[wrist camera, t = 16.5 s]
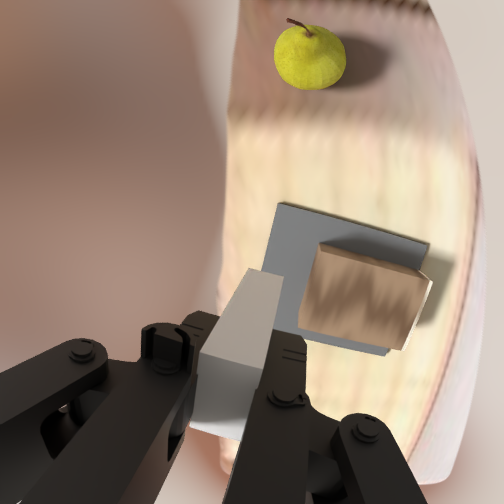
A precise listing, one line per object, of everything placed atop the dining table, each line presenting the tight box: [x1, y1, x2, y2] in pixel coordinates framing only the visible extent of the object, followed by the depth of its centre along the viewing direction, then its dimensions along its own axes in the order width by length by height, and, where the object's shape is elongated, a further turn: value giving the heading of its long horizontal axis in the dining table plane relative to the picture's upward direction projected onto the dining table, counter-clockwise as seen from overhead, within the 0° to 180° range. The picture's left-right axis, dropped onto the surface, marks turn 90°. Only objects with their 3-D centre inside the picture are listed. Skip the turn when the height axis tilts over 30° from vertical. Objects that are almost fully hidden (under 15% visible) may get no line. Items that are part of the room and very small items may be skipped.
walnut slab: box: [298, 243, 433, 351], centre depth 31 cm, size 8×4×12 cm
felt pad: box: [261, 203, 427, 356], centre depth 34 cm, size 14×17×1 cm
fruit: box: [274, 18, 346, 90], centre depth 23 cm, size 7×7×12 cm
